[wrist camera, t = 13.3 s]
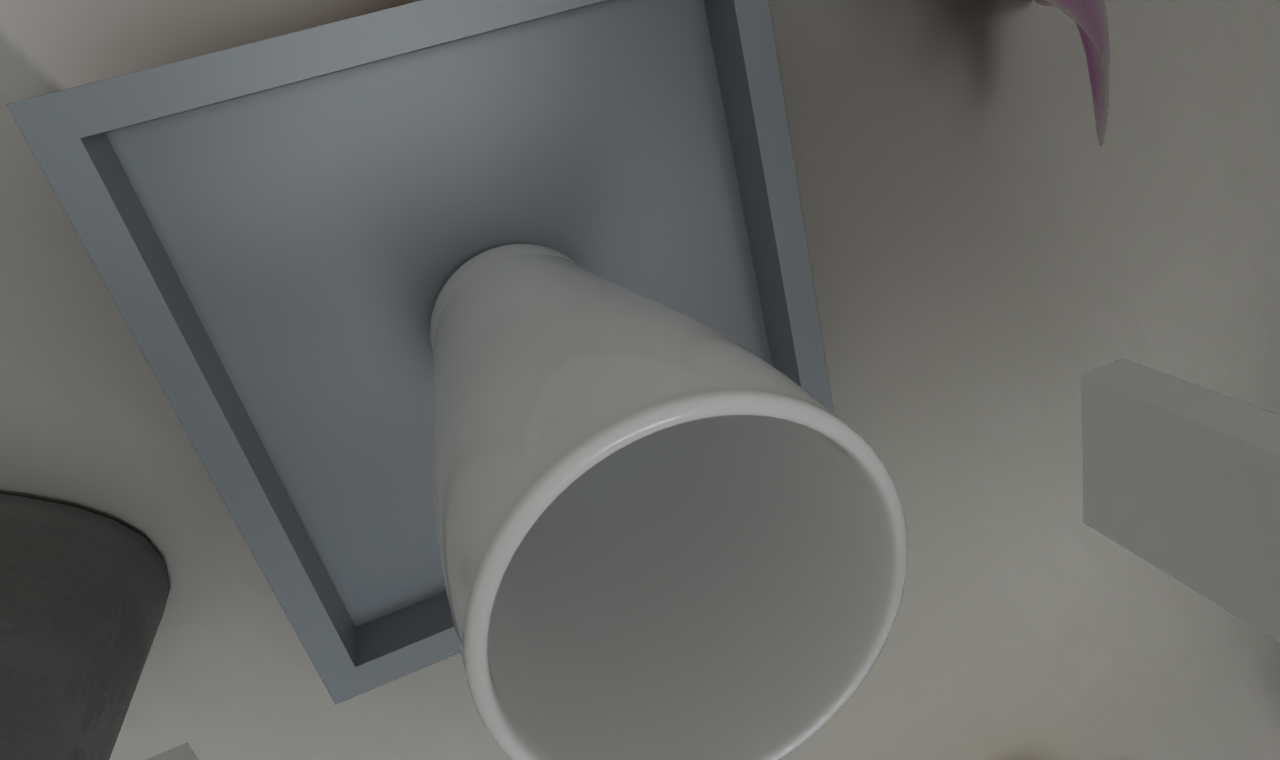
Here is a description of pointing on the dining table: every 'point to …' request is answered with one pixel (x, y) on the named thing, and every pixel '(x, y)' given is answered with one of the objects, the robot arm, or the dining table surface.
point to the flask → (71, 627)
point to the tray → (415, 250)
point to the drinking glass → (646, 524)
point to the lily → (1092, 50)
